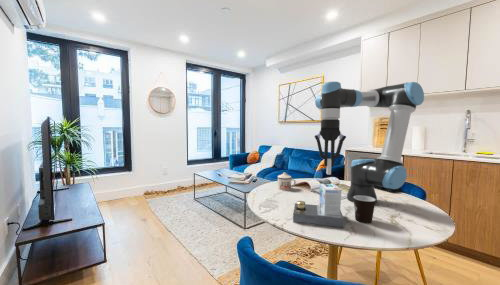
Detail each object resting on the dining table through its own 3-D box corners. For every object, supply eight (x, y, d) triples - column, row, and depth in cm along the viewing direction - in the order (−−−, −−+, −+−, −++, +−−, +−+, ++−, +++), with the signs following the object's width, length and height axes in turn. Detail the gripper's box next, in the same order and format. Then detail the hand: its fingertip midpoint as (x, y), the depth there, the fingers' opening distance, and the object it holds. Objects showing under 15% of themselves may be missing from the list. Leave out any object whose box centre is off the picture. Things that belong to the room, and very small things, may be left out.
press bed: (339, 215, 105) (339, 206, 104) (343, 228, 91) (343, 217, 91) (295, 211, 110) (295, 202, 109) (293, 222, 96) (293, 212, 96)
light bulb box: (318, 206, 104) (319, 183, 104) (333, 206, 104) (334, 183, 103) (324, 214, 94) (325, 189, 93) (341, 215, 93) (341, 189, 93)
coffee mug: (374, 226, 93) (374, 202, 92) (351, 222, 97) (352, 199, 97) (375, 217, 103) (376, 195, 102) (354, 213, 107) (355, 192, 107)
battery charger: (372, 189, 153) (373, 183, 152) (382, 188, 157) (382, 182, 157) (391, 194, 141) (392, 188, 141) (401, 192, 145) (401, 186, 145)
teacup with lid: (279, 192, 143) (279, 174, 142) (275, 188, 152) (276, 171, 151) (297, 192, 144) (298, 173, 143) (293, 188, 153) (293, 171, 152)
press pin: (305, 209, 103) (305, 201, 103) (305, 212, 100) (305, 203, 99) (297, 209, 104) (297, 200, 104) (296, 211, 101) (296, 203, 100)
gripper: (345, 119, 99) (343, 173, 100) (313, 119, 102) (312, 171, 103) (348, 118, 92) (346, 176, 93) (314, 118, 95) (313, 174, 96)
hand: (328, 173), depth 98 cm, fingers closed
